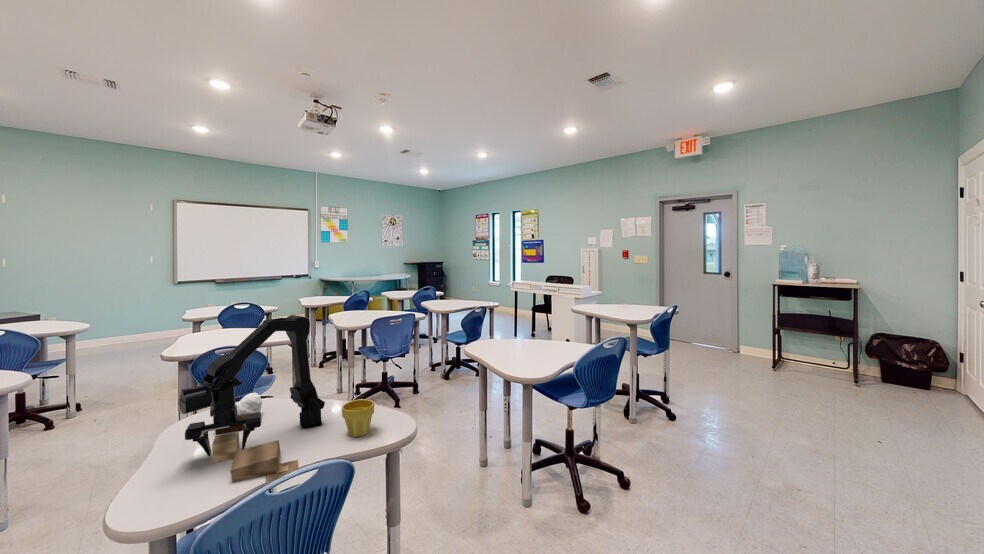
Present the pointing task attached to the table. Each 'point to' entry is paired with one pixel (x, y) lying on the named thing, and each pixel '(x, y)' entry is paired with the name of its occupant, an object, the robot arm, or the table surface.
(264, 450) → the tan flat square block
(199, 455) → the table surface
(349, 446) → the table surface
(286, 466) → the swatch
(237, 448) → the oak cube
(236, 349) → the robot arm
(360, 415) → the plant pot
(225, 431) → the brick
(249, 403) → the white lumpy chunk
